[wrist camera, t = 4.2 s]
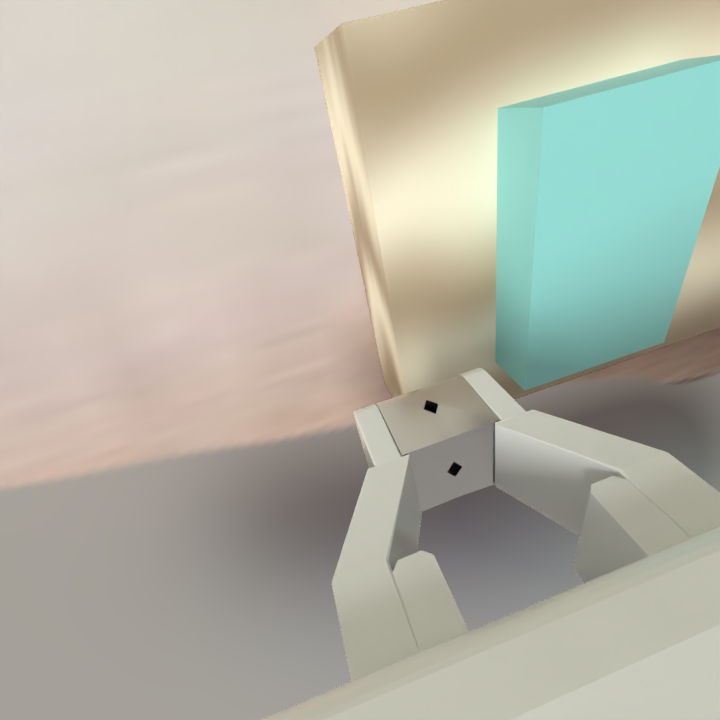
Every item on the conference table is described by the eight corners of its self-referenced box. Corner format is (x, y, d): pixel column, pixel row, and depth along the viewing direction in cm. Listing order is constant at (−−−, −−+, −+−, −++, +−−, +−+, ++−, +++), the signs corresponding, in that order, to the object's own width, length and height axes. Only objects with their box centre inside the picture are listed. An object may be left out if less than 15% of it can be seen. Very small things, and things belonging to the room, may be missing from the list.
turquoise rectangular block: (497, 108, 11) (543, 107, 9) (682, 59, 11) (756, 50, 10) (495, 362, 16) (524, 390, 14) (622, 319, 17) (664, 342, 15)
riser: (314, 47, 12) (341, 23, 9) (742, -53, 14) (897, -104, 11) (384, 382, 20) (412, 434, 17) (649, 295, 22) (721, 327, 19)
